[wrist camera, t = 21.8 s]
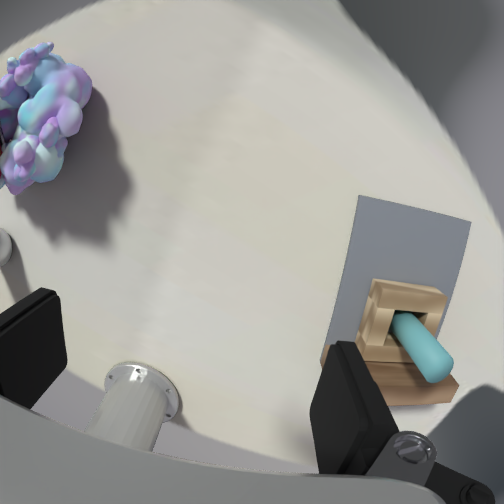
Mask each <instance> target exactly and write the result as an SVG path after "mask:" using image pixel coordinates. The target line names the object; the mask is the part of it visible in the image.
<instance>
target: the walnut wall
mask: <svg viewBox="0 0 504 504" xmlns="http://www.w3.org/2000/svg"><path fill="white" fill-rule="evenodd" d="M329 347H330V345H325V348H324V352H323V355H322V358H321V362H320V363H321V366H322V369H323V366H324V363H325V360H326V356H327V353H328V350H329ZM365 363H366V365H367V368H368V370H369V372H370V374H371V376H372V378H373V380H374V381H375V382H376V383H377V385H378V387H379V389H380V391H381V393H382V395H383V397H384V399H385V401H386V404H387V406H401V405H423V404H438V403H450V402H451V400H452V398H453V396H454V395H455V393H456V391H457V389H458V387H459V384H458V383H457V382H456V380H455V379H454V378H453V377H452V375H451V374H450V373H449V375H448V376H447V377H446V378H444V379H443V380H441V381H439V382H437V383H429V382H428V381H427V380H426V379H425V377H424V376H423V374H422V373H421V372H420V370H419V369H418V367H417V366H416V364H415V363H407V362H379V361H365Z"/></svg>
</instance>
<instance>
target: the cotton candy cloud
mask: <svg viewBox="0 0 504 504" xmlns="http://www.w3.org/2000/svg"><path fill="white" fill-rule="evenodd" d="M53 47H54V44H53V43H52V42H48V43H40V44H38V45H36V46H35V47H34V48H28V49H26V50H25V51H24V52H23V53H22V54H21V55H20V56H19V60H18V61H17V60H16V58H15V57H11V58H9V59H8V60H7V64H8V65H7V71H8V74H6V75H5V76H3V77H2V79H1V80H0V189H1V188H2V187H3V185H5V184H6V186H7V187H8V189H9V191H10V192H11V193H12V194H13V195H18V194H20V193H21V192H22V191H23V190H24V189H25V188H27V187H29V186H30V185H32V184H33V183H34V182H35V181H36V182H39V183H43V182H47V181H52V180H54V179H55V177H56V176H57V175H58V173H59V172H60V170H61V168H62V164H63V161H64V151H65V149H66V147H67V144H68V142H67V139H66V137H69V136H72V135H74V134H76V133H78V132H79V129H80V126H81V123H82V119H83V114H82V110H81V109H82V108H83V107H84V106H85V105H86V104H87V103H88V101H89V98H90V96H91V92H92V81H91V79H90V77H89V76H88V75H87V74H86V72H85V71H84V70H83V68H81V67H79V66H76V65H74V64H71V63H67V64H66V63H65V62H64V60H63V59H62V58H61V57H60V56H59V55H56V54H53V53H50V52H51V51H52V49H53ZM10 139H13V140H12V141H11V142H9V140H10Z"/></svg>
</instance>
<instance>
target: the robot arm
mask: <svg viewBox="0 0 504 504" xmlns="http://www.w3.org/2000/svg"><path fill="white" fill-rule="evenodd" d="M66 365H67V353H66V346H65V339H64V331H63V323H62V313H61V303H60V298H59V296H57V293H56V292H55V291H53V290H50V289H46V288H42V287H41V288H39V289H38V290H36V291H34V292H33V293H31V294H30V295H28V296H27V297H25V298H24V299H22V300H20V301H19V302H17V303H16V304H14V305H13V306H11V307H10V308H8V309H7V310H5V311H4V312H2V313H1V314H0V504H495V499H494V495H493V493H492V491H491V490H490V489H489V488H488V487H487V486H485V485H484V484H482V483H480V482H478V481H476V480H473V479H471V478H469V477H467V476H464V475H462V474H460V473H458V472H456V471H454V470H452V469H449V468H447V467H445V466H443V465H441V464H439V463H437V462H435V460H436V456H437V451H436V447H435V446H434V444H433V442H432V441H430V440H429V439H428V438H427V437H426V436H424V435H422V434H420V433H417V432H414V431H401V432H399V429H398V427H397V425H396V423H395V421H394V419H393V416H392V414H391V412H390V410H389V408H388V406H387V404H386V401H385V399H384V397H383V395H382V393H381V391H380V389H379V387H378V385H377V383H376V382H375V381H374V380H373V378H372V376H371V374H370V372H369V370H368V368H367V365H366V363H365V361H364V359H363V357H362V355H361V353H360V351H359V349H358V347H357V345H356V343H355V342H351V341H339V340H338V341H337V342H336V343H335V344H331V345H330V347H329V350H328V353H327V356H326V360H325V363H324V366H323V369H322V373H321V376H320V379H319V382H318V385H317V388H316V391H315V394H314V397H313V400H312V403H311V406H310V421H311V426H312V432H313V438H314V444H315V450H316V456H317V463H318V469H319V474H309V473H289V472H274V471H262V470H253V469H244V468H235V467H228V466H221V465H215V464H208V463H202V462H197V461H191V460H186V459H181V458H177V457H172V456H167V455H163V454H159V453H155V452H152V451H153V448H154V445H155V442H156V439H157V436H158V434H159V431H160V428H161V425H162V423H164V422H167V421H169V420H170V419H172V418H173V417H174V416H175V414H176V412H177V410H178V406H179V397H178V393H177V391H176V389H175V387H174V386H173V384H172V383H171V382H170V381H169V380H168V379H167V378H166V377H165V376H164V375H163V374H162V373H160V372H159V371H157V370H155V369H154V368H152V367H149V366H147V365H144V364H140V363H134V362H124V363H121V364H118V365H116V366H114V367H113V368H112V369H111V370H110V371H109V372H108V374H107V376H106V378H105V384H104V385H105V391H106V396H105V397H104V399H103V401H102V402H101V404H100V405H99V407H98V408H97V410H96V412H95V413H94V415H93V417H92V419H91V420H90V422H89V423H88V425H87V427H86V428H85V430H84V431H81V430H79V429H76V428H73V427H71V426H68V425H66V424H63V423H60V422H58V421H55V420H53V419H51V418H48V417H46V416H43V415H41V414H39V413H37V412H34V411H32V410H30V409H31V408H32V407H33V406H34V404H35V403H36V402H37V401H38V399H39V398H40V397H41V396H42V395H43V393H44V392H45V391H46V390H47V389H48V388H49V386H50V385H51V384H52V383H53V382H54V381H55V379H56V378H57V377H58V376H59V375H60V374H61V372H62V371H63V370H64V369H65V367H66Z"/></svg>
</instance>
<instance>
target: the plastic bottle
mask: <svg viewBox="0 0 504 504" xmlns="http://www.w3.org/2000/svg"><path fill="white" fill-rule="evenodd" d="M11 253H12V242H11V239H10V237H9V235H8V233H7V232H6V231H5V230H3V229H1V228H0V267H2V266H3V265H4V264H5V263H7V262H8V260H9V259H10V256H11Z"/></svg>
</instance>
